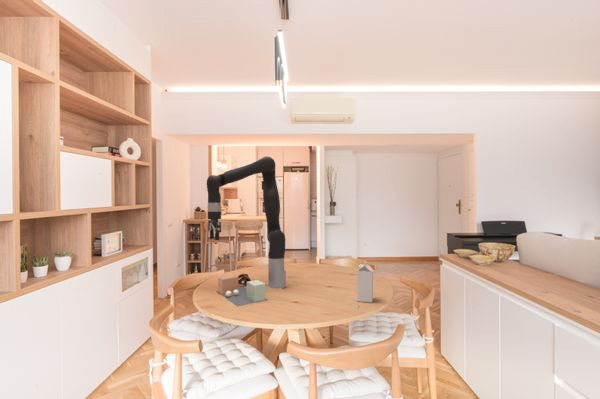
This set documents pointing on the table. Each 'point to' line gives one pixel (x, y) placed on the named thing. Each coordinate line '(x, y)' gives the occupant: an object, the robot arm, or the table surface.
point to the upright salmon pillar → (227, 284)
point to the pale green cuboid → (256, 290)
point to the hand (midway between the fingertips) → (214, 239)
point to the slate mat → (239, 297)
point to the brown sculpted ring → (243, 278)
